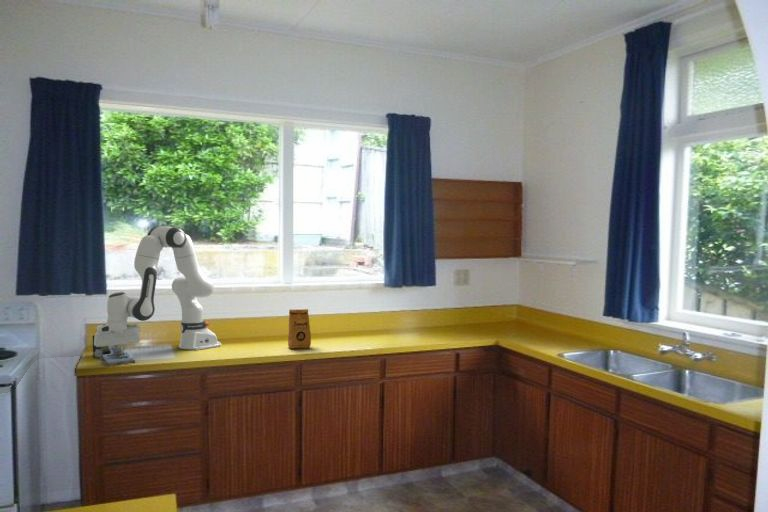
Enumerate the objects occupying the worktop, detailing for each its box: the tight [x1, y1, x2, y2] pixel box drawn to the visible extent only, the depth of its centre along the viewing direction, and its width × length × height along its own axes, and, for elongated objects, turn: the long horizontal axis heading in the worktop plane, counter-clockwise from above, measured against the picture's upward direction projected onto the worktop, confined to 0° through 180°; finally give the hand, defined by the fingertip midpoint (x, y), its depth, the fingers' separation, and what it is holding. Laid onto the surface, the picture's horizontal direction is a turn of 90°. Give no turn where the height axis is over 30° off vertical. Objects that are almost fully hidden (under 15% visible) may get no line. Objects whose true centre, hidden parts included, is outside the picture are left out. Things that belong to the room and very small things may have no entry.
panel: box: [101, 346, 134, 364], centre depth 267 cm, size 11×15×5 cm
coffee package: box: [287, 308, 312, 350], centre depth 305 cm, size 10×12×22 cm
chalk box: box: [91, 334, 119, 358], centre depth 279 cm, size 9×9×15 cm
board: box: [101, 351, 136, 368], centre depth 267 cm, size 12×16×5 cm
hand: (117, 353), depth 267 cm, fingers closed on panel, 3 cm apart
